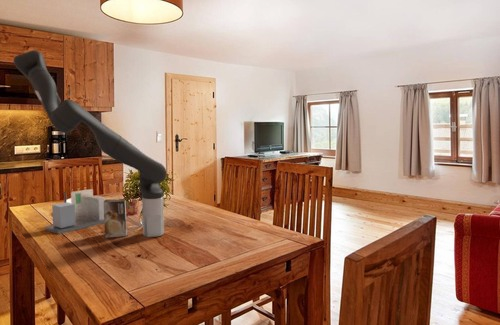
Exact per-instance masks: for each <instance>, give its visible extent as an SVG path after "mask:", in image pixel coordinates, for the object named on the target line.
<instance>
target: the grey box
mask: <svg viewBox="0 0 500 325" xmlns="http://www.w3.org/2000/svg"><path fill="white" fill-rule="evenodd" d="M63 195H64V196H63V197H64V201H65V203H64V202H60V203H55V204H54V203H53V204H52V205H51V206H52V207H51V208H52V225H53V226H56V227H59V228H64V227H68V226H73V225H76V222H75V204H72V203H68V202H66V200H67V191H66V192H63Z"/></svg>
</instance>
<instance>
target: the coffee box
mask: <svg viewBox="0 0 500 325" xmlns="http://www.w3.org/2000/svg"><path fill="white" fill-rule="evenodd" d="M127 223H128V222H127V213H126V200H125V199H124V198H115V199H114V198H113V199H112V198H110V199H109V198H108V199H105V200H104V223H103V224H104V238H105V239H106V238H107V239H109V238H117V237H127V234H128V229H127Z"/></svg>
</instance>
